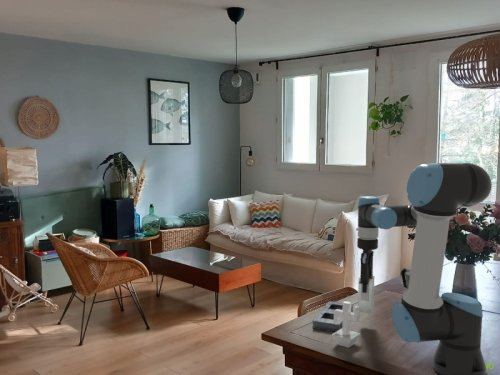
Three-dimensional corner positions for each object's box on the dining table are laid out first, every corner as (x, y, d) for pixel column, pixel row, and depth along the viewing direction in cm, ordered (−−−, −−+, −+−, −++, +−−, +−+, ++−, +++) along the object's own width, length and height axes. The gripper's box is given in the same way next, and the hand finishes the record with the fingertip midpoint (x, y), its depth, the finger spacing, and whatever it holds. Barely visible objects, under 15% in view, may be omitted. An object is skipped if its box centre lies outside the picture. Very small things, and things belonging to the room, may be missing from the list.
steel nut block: (371, 313, 185) (372, 279, 184) (357, 311, 187) (358, 277, 186) (373, 309, 190) (374, 275, 188) (360, 307, 192) (361, 274, 190)
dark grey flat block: (339, 332, 182) (339, 324, 181) (312, 328, 186) (312, 320, 185) (352, 311, 204) (353, 304, 203) (329, 308, 208) (329, 301, 207)
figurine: (339, 337, 178) (339, 296, 176) (363, 344, 172) (364, 302, 170) (328, 343, 172) (329, 301, 170) (353, 351, 166) (354, 307, 164)
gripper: (362, 232, 195) (360, 290, 198) (352, 241, 179) (351, 304, 181) (381, 234, 192) (379, 292, 195) (373, 243, 176) (371, 307, 178)
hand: (366, 298), depth 188 cm, fingers closed on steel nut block, 5 cm apart
